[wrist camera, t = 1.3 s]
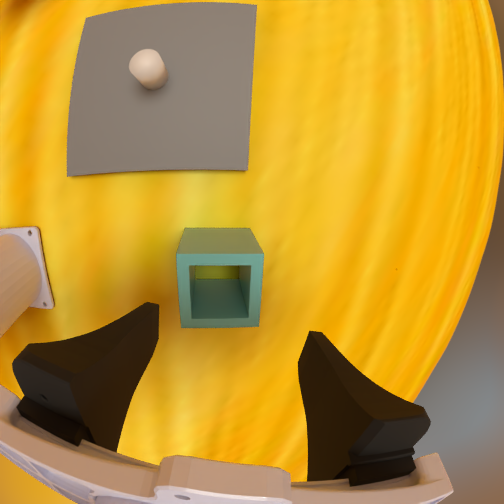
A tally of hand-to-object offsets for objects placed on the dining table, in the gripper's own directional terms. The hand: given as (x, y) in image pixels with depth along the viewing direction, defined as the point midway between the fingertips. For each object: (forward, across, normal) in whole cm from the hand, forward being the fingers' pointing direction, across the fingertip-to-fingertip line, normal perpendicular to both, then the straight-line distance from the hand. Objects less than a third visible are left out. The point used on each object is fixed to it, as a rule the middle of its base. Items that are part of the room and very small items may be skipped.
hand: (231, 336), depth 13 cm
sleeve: (+10, +2, 0) cm, 10 cm away
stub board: (+9, +9, -13) cm, 18 cm away
